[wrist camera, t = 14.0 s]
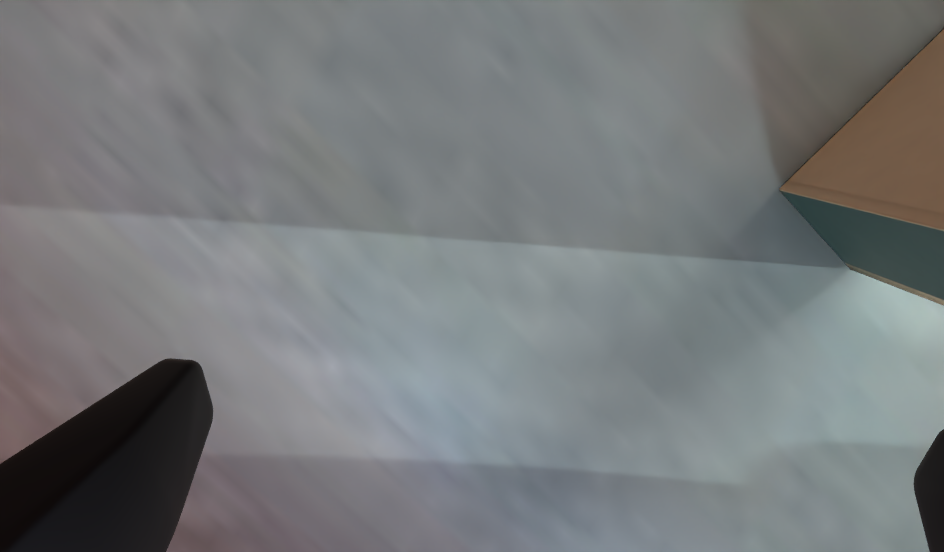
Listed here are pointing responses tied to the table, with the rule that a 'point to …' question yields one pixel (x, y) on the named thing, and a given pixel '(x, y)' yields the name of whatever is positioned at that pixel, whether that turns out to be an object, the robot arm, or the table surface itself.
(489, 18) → the table surface
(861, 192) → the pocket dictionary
